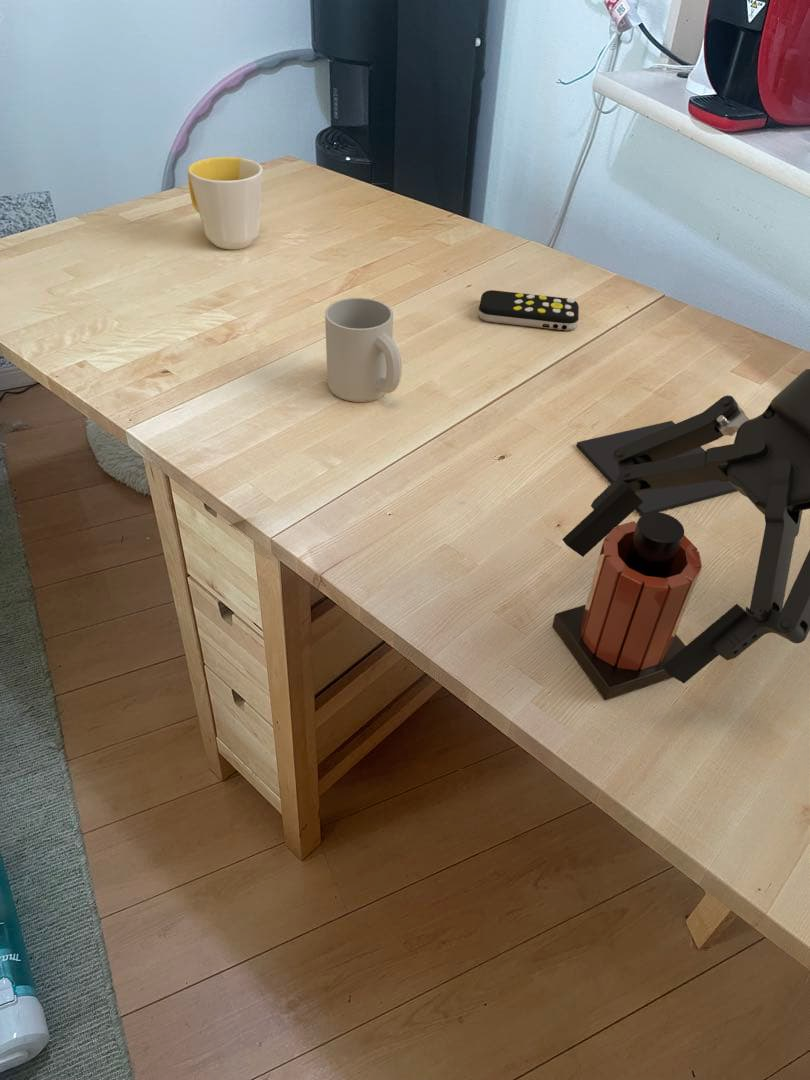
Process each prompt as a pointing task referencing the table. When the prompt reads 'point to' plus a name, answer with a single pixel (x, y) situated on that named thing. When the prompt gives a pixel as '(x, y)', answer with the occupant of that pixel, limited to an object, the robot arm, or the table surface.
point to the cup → (361, 350)
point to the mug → (227, 199)
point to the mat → (653, 500)
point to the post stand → (650, 558)
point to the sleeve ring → (636, 604)
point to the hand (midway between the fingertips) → (618, 607)
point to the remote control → (529, 310)
